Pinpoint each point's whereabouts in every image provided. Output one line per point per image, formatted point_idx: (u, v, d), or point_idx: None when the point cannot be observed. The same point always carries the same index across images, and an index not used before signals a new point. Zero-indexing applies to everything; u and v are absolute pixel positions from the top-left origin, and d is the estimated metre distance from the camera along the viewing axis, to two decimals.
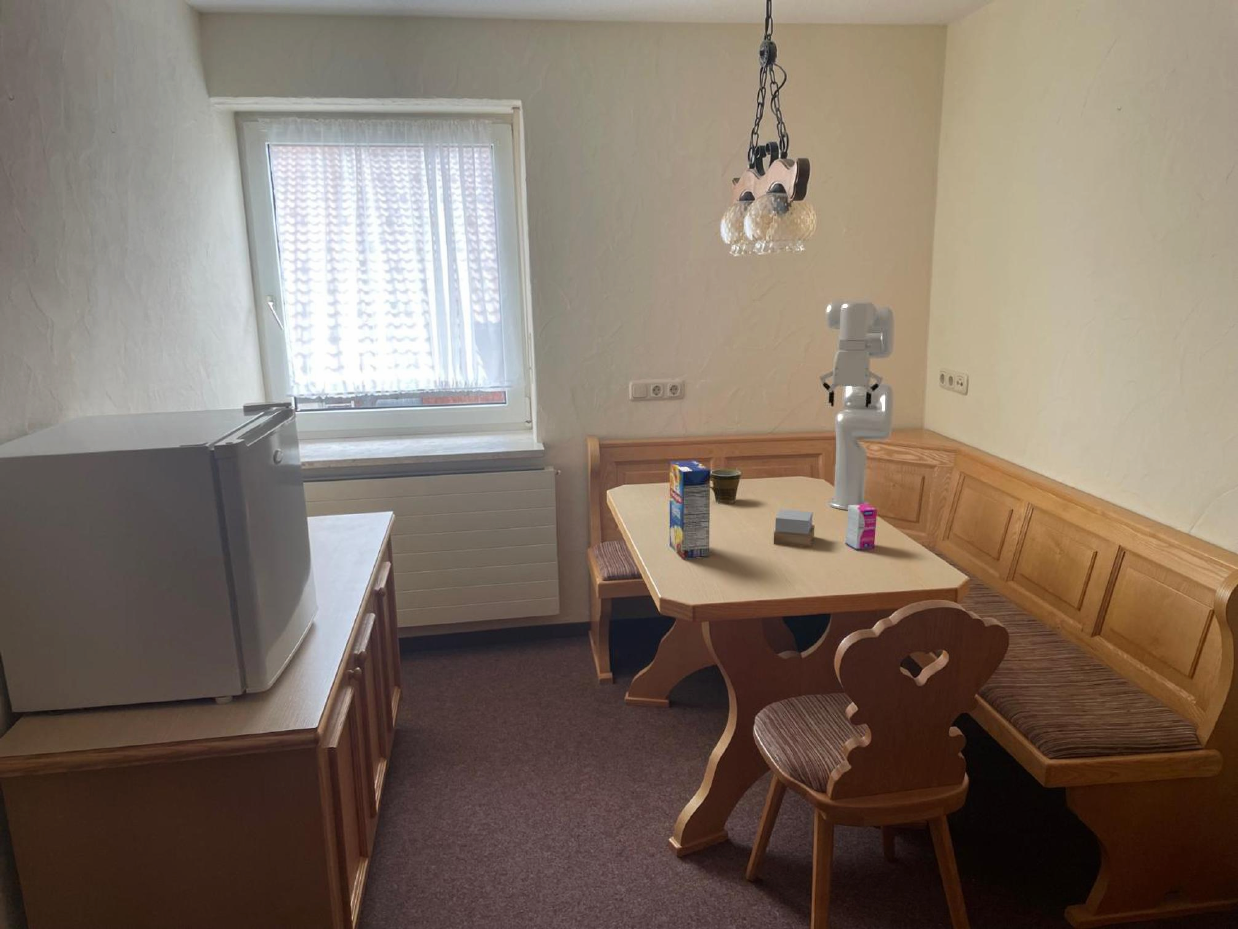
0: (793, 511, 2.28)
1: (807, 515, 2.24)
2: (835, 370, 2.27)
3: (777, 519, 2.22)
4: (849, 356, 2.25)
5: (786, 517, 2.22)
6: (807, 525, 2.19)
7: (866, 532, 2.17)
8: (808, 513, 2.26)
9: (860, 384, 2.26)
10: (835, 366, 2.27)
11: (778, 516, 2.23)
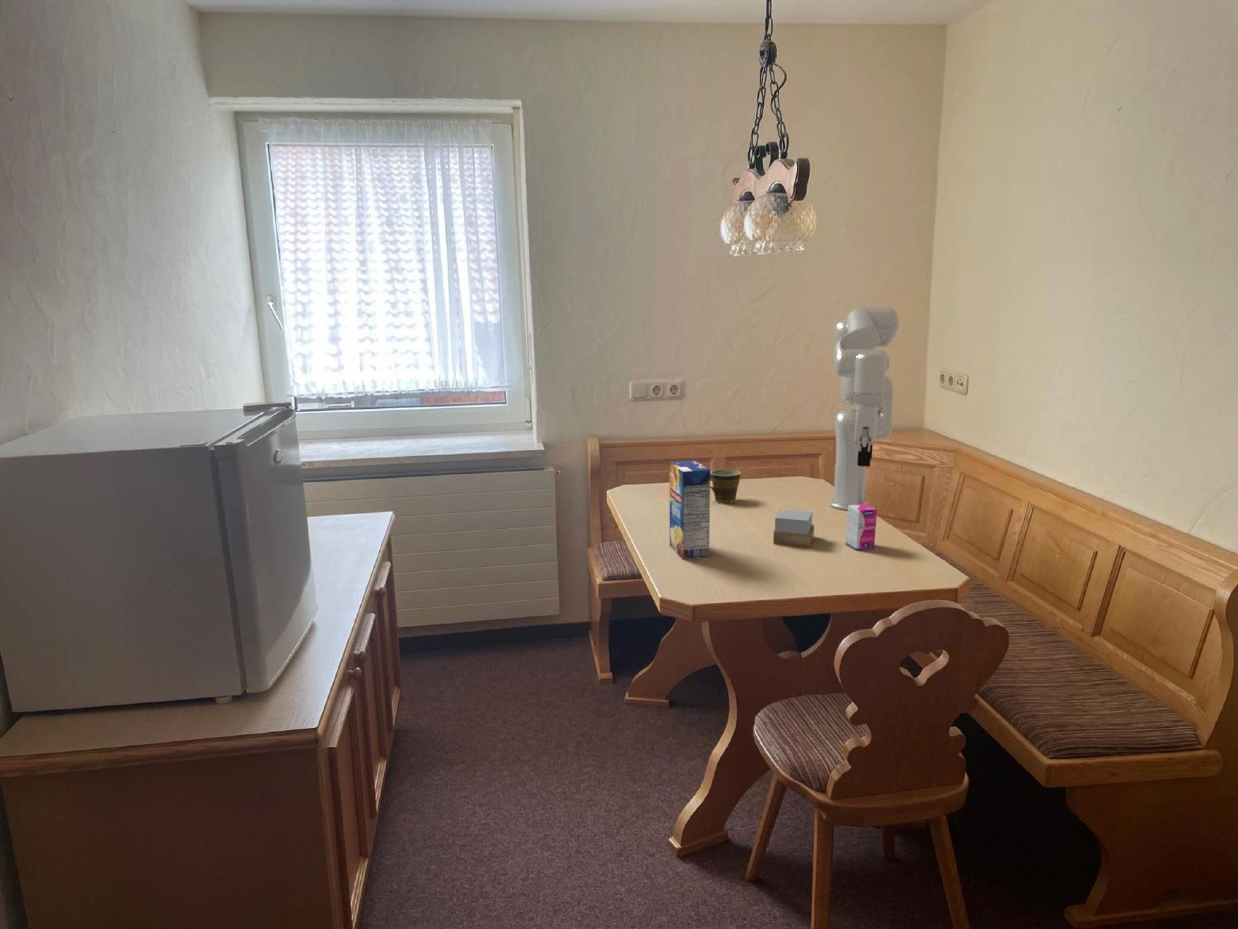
0: (793, 511, 2.28)
1: (807, 515, 2.23)
2: (874, 427, 2.08)
3: (777, 519, 2.22)
4: (877, 409, 2.10)
5: (786, 517, 2.22)
6: (807, 525, 2.19)
7: (866, 532, 2.17)
8: (808, 513, 2.26)
9: None
10: (874, 422, 2.08)
11: (778, 516, 2.23)
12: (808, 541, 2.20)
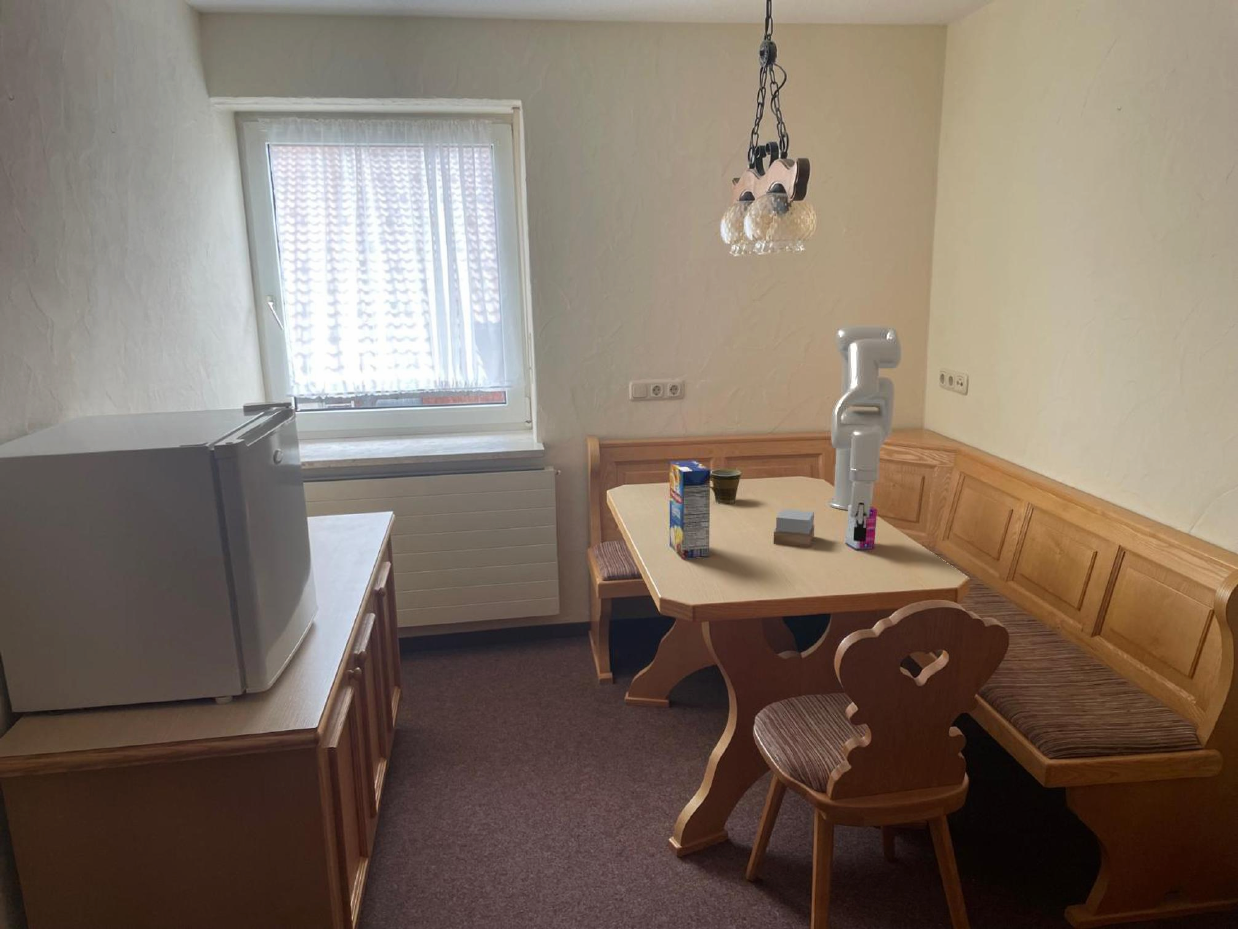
0: (794, 511, 2.28)
1: (808, 515, 2.24)
2: (869, 503, 2.13)
3: (778, 519, 2.22)
4: None
5: (787, 517, 2.22)
6: (808, 525, 2.19)
7: (866, 532, 2.17)
8: (809, 513, 2.26)
9: None
10: (869, 499, 2.12)
11: (779, 516, 2.24)
12: (808, 541, 2.20)
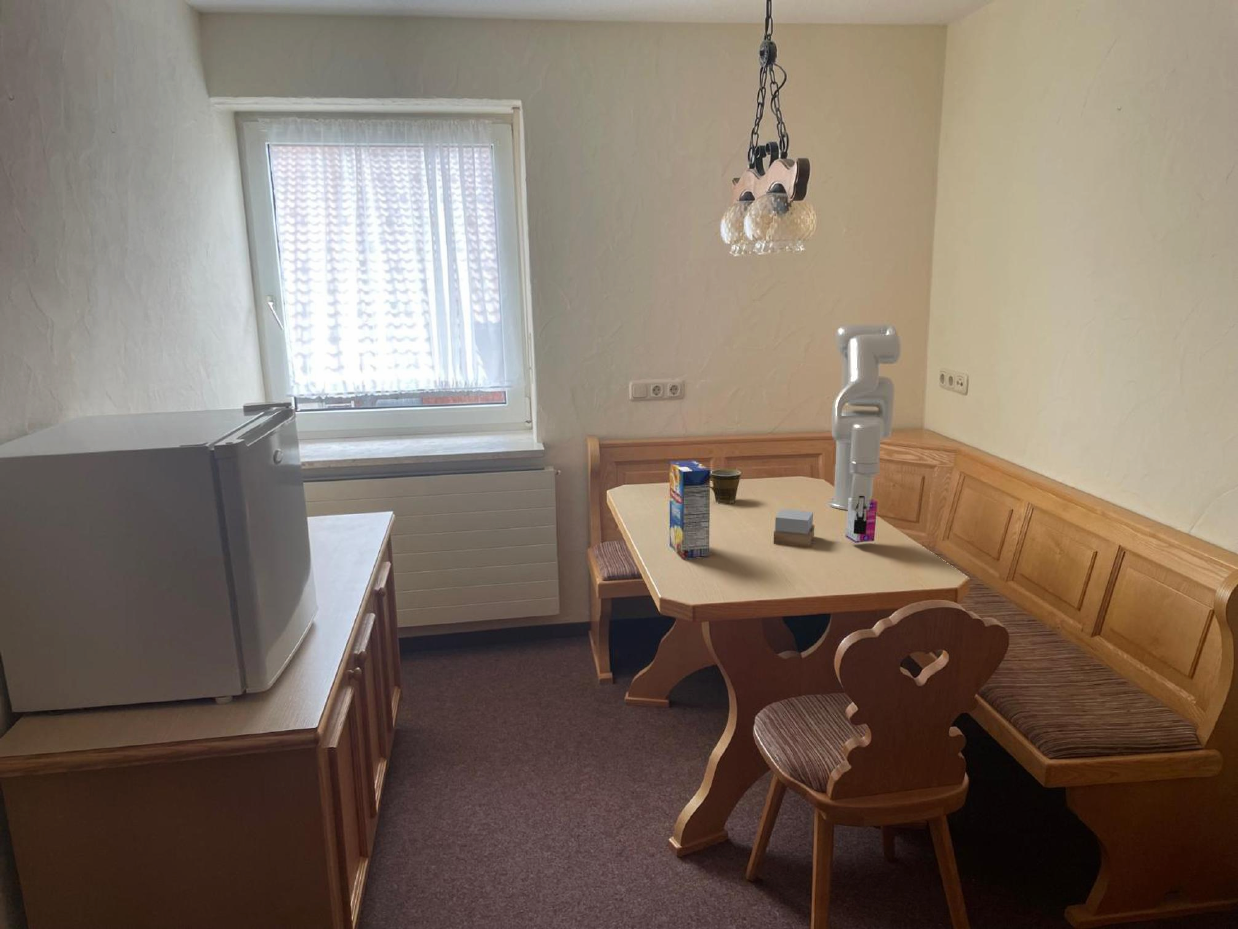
0: (793, 511, 2.28)
1: (807, 515, 2.24)
2: (870, 496, 2.13)
3: (777, 518, 2.22)
4: (873, 477, 2.15)
5: (786, 517, 2.23)
6: (807, 525, 2.20)
7: (866, 525, 2.17)
8: (808, 513, 2.26)
9: None
10: (869, 492, 2.12)
11: (778, 516, 2.24)
12: (808, 541, 2.20)
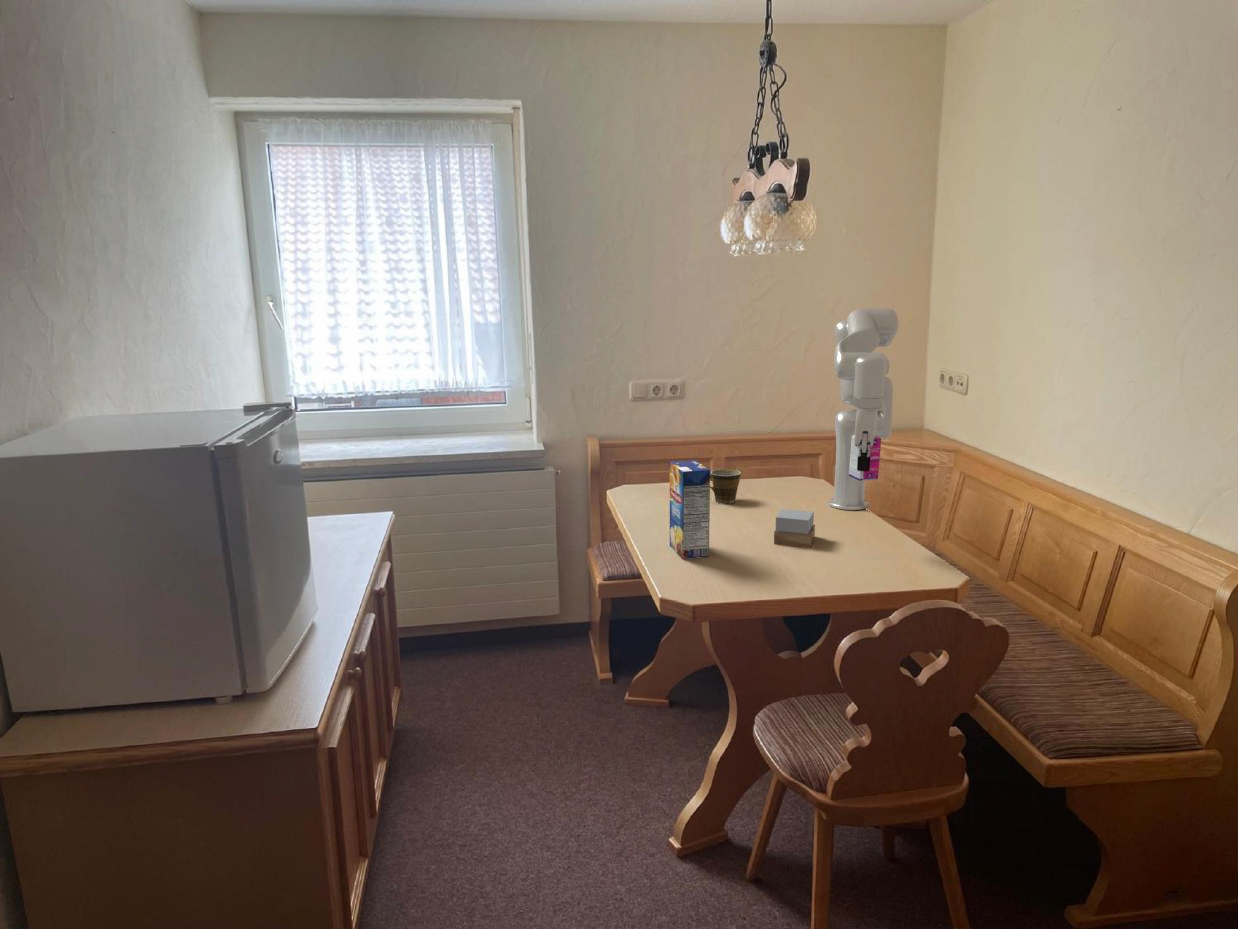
0: (794, 511, 2.28)
1: (808, 515, 2.24)
2: (873, 431, 2.09)
3: (777, 518, 2.22)
4: None
5: (786, 516, 2.23)
6: (807, 525, 2.19)
7: (870, 462, 2.13)
8: (809, 513, 2.26)
9: None
10: (873, 427, 2.08)
11: (778, 515, 2.24)
12: (809, 541, 2.20)
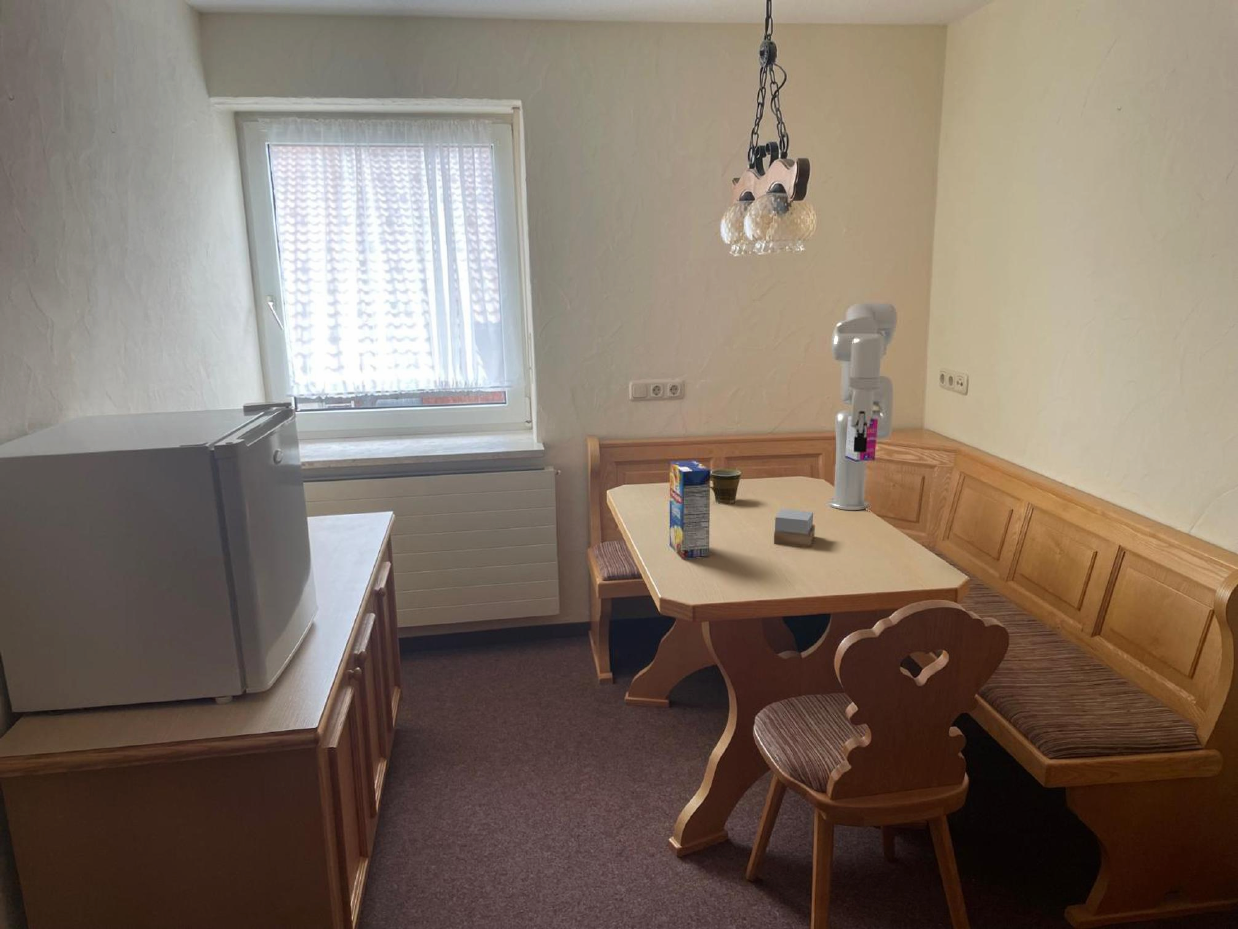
0: (794, 511, 2.28)
1: (807, 515, 2.24)
2: (870, 411, 2.08)
3: (777, 518, 2.22)
4: (873, 393, 2.10)
5: (786, 516, 2.23)
6: (806, 525, 2.20)
7: (867, 443, 2.12)
8: (808, 513, 2.26)
9: None
10: (870, 407, 2.07)
11: (778, 515, 2.24)
12: (808, 541, 2.20)
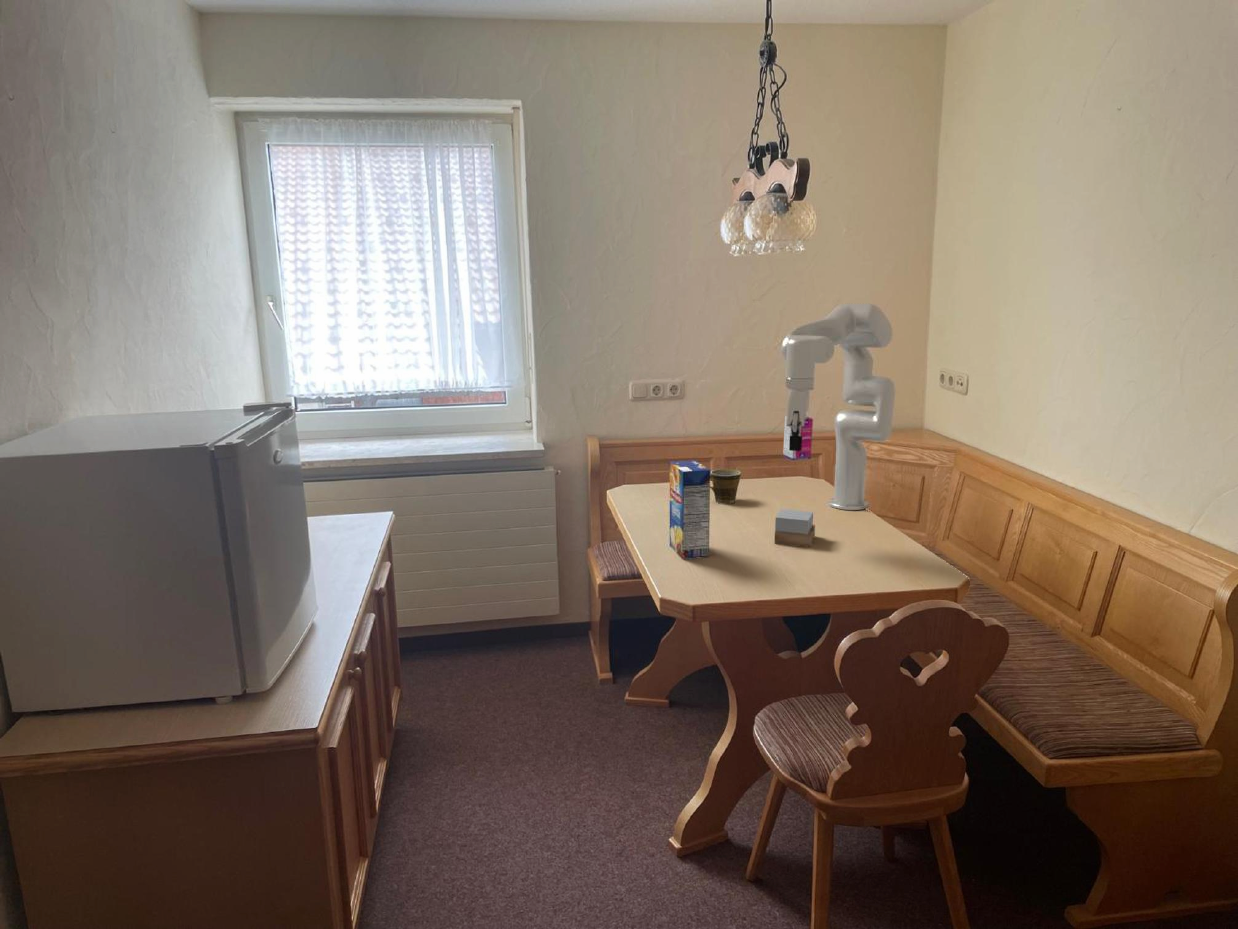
0: (794, 511, 2.28)
1: (808, 515, 2.24)
2: (804, 411, 2.13)
3: (777, 519, 2.22)
4: (808, 394, 2.15)
5: (786, 517, 2.23)
6: (807, 525, 2.20)
7: (802, 442, 2.17)
8: (808, 513, 2.26)
9: None
10: (804, 407, 2.13)
11: (778, 516, 2.24)
12: (809, 541, 2.20)
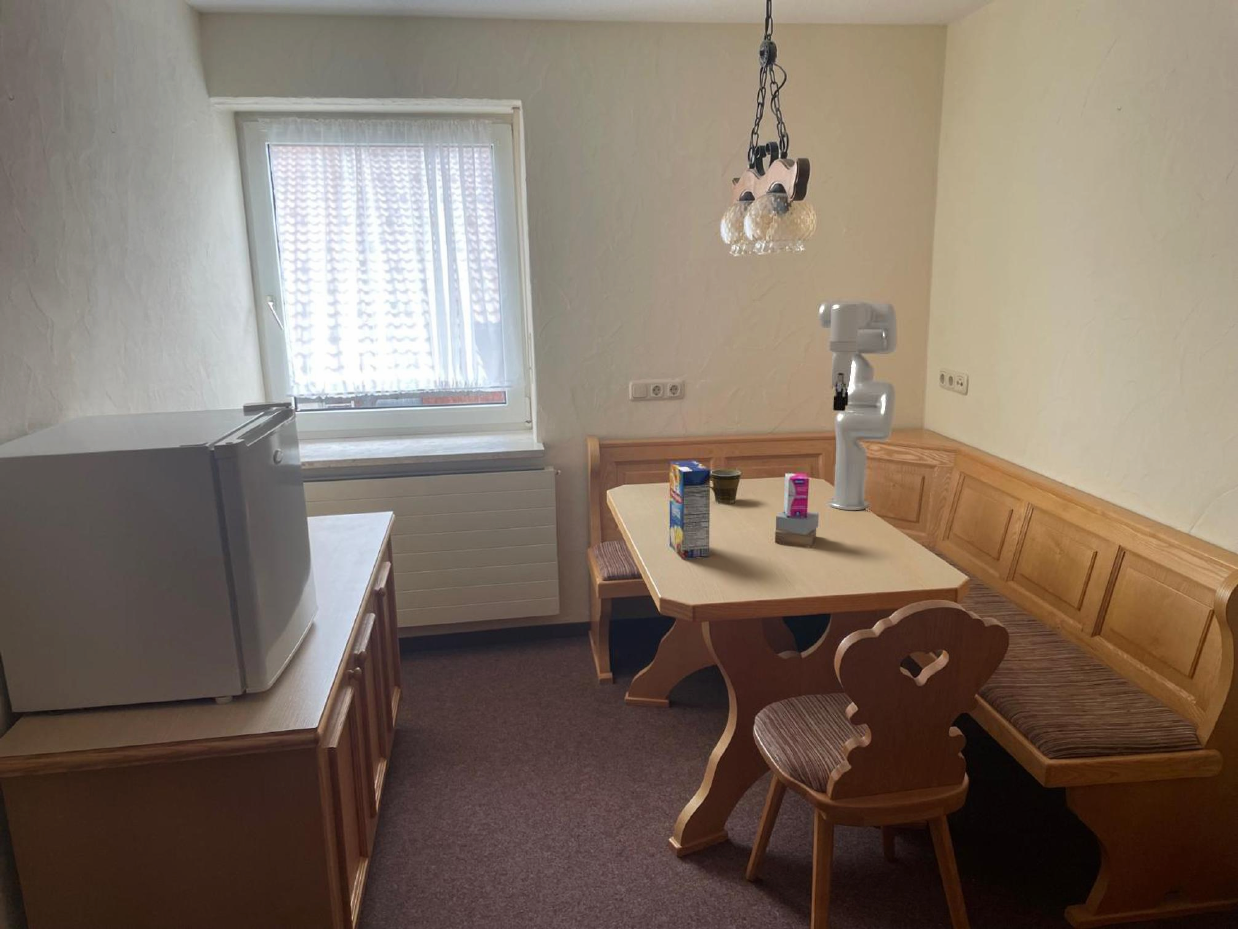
0: None
1: (810, 516, 2.23)
2: (848, 373, 2.21)
3: (777, 517, 2.24)
4: (852, 357, 2.23)
5: None
6: (805, 525, 2.19)
7: (797, 501, 2.21)
8: (813, 514, 2.25)
9: None
10: (848, 369, 2.21)
11: (780, 515, 2.25)
12: (809, 541, 2.20)
